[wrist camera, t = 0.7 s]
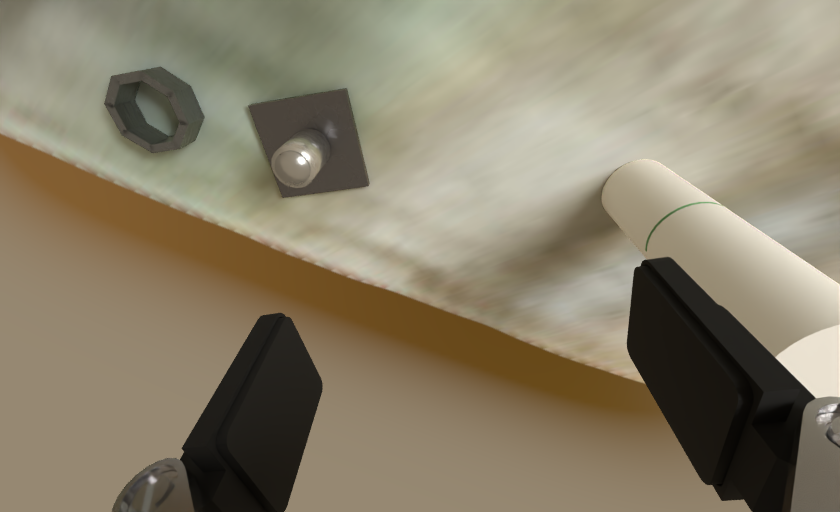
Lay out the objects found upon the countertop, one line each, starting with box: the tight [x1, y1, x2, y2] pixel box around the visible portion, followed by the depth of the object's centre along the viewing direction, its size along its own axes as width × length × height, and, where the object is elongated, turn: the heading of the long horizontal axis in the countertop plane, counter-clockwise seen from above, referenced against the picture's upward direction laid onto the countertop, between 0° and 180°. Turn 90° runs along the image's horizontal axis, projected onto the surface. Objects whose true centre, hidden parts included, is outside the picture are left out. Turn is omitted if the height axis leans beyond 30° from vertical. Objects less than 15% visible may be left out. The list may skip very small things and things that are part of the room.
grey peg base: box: [248, 88, 369, 198], centre depth 38 cm, size 10×10×7 cm
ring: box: [104, 67, 204, 153], centre depth 38 cm, size 7×7×3 cm
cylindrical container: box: [601, 159, 840, 398], centre depth 32 cm, size 7×7×25 cm
